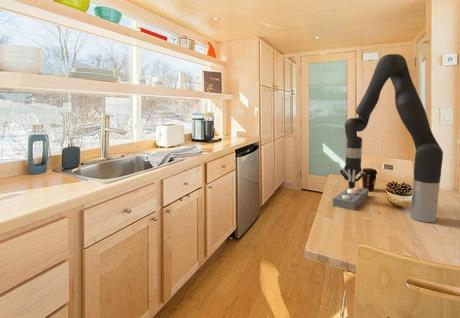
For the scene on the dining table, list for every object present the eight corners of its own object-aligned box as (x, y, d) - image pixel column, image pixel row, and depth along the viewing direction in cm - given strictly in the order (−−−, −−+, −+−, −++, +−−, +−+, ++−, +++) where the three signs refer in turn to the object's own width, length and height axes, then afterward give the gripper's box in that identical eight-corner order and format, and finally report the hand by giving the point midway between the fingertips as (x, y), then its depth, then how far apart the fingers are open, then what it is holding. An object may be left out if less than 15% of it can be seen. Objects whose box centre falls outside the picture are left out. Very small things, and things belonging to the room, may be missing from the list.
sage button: (352, 200, 137) (352, 196, 137) (349, 203, 134) (349, 198, 133) (343, 199, 140) (343, 194, 139) (340, 201, 136) (340, 196, 136)
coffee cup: (372, 188, 166) (374, 167, 164) (378, 192, 158) (380, 170, 156) (358, 188, 167) (359, 167, 165) (363, 191, 159) (364, 170, 157)
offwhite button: (357, 194, 144) (357, 189, 143) (354, 196, 140) (355, 191, 140) (348, 193, 146) (348, 188, 146) (346, 194, 143) (346, 190, 143)
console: (368, 196, 151) (368, 189, 150) (353, 210, 130) (353, 202, 129) (349, 193, 158) (349, 186, 157) (332, 205, 137) (333, 198, 136)
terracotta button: (361, 192, 150) (361, 188, 150) (359, 194, 147) (359, 190, 147) (353, 191, 153) (353, 186, 153) (351, 193, 150) (351, 188, 150)
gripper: (369, 156, 138) (366, 188, 141) (342, 154, 147) (341, 184, 150) (365, 158, 133) (363, 192, 136) (338, 156, 141) (336, 187, 144)
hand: (351, 188), depth 143 cm, fingers closed
